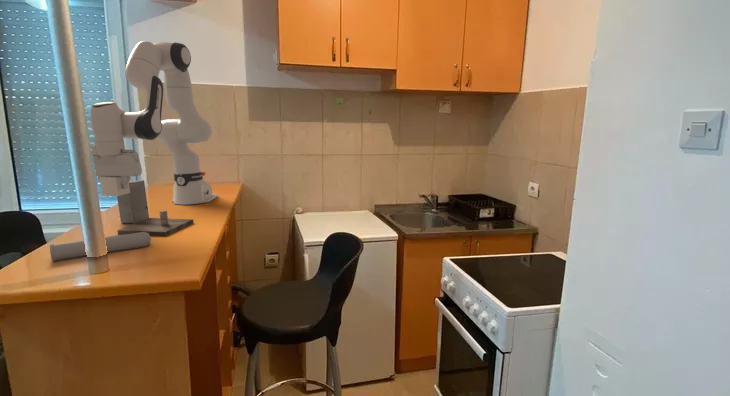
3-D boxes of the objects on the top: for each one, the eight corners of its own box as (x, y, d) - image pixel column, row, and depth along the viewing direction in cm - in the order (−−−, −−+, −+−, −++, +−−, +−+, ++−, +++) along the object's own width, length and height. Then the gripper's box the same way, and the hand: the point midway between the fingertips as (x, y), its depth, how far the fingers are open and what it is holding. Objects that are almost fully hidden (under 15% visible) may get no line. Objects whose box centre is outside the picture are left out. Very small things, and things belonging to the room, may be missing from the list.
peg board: (150, 221, 153) (148, 205, 152) (193, 223, 150) (191, 206, 149) (118, 234, 136) (115, 216, 135) (165, 236, 134) (163, 217, 133)
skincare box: (134, 224, 150) (129, 183, 146) (118, 223, 151) (113, 182, 148) (150, 218, 158) (146, 179, 154) (135, 217, 159) (130, 179, 156)
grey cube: (115, 192, 144) (112, 174, 143) (130, 192, 143) (127, 175, 142) (102, 195, 138) (99, 177, 137) (117, 196, 137) (115, 177, 136)
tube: (149, 231, 127) (52, 243, 114) (150, 229, 123) (49, 242, 109) (151, 247, 127) (54, 262, 114) (152, 246, 122) (51, 261, 109)
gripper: (143, 148, 139) (148, 187, 142) (92, 148, 142) (97, 186, 145) (130, 150, 133) (135, 190, 136) (77, 150, 136) (83, 189, 139)
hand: (115, 188), depth 140 cm, fingers closed on grey cube, 6 cm apart
